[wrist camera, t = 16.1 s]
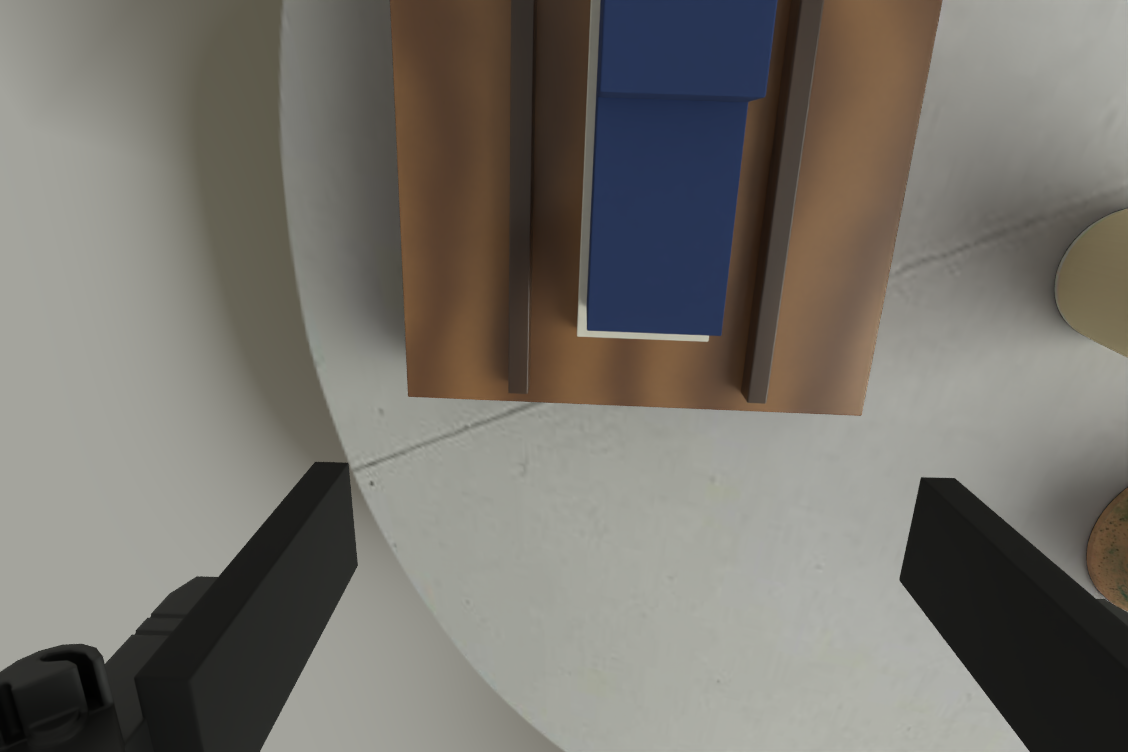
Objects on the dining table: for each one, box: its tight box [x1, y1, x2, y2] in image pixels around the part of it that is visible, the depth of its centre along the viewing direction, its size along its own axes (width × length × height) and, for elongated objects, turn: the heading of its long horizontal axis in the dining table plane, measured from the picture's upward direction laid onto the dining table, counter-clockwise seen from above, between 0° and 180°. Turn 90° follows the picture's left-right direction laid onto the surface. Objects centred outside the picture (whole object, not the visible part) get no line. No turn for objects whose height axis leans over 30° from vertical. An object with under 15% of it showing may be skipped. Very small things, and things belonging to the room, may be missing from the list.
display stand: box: [390, 0, 942, 416], centre depth 33 cm, size 24×24×8 cm
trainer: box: [577, 0, 778, 342], centre depth 27 cm, size 16×6×8 cm, turn 178°
